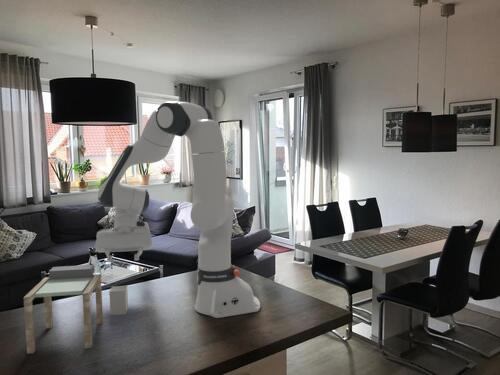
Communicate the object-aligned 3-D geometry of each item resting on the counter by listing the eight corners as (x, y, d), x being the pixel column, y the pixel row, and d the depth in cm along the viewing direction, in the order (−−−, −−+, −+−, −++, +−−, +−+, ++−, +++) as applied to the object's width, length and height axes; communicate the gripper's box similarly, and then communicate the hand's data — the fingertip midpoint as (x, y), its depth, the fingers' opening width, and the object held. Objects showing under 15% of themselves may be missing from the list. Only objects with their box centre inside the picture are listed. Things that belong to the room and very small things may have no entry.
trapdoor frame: (102, 322, 125) (100, 274, 124) (91, 348, 109) (88, 293, 107) (47, 326, 123) (44, 277, 121) (27, 353, 106) (23, 297, 105)
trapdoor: (94, 276, 125) (94, 264, 125) (82, 294, 109) (81, 281, 109) (53, 278, 123) (53, 267, 123) (35, 297, 107) (34, 284, 107)
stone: (128, 308, 136) (127, 285, 135) (126, 314, 131) (125, 290, 131) (113, 309, 135) (112, 286, 135) (110, 315, 130) (109, 291, 130)
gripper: (95, 224, 148) (91, 257, 140) (152, 222, 152) (150, 254, 143) (98, 234, 153) (94, 266, 145) (153, 231, 157) (152, 263, 148)
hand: (123, 260), depth 144 cm, fingers open, 8 cm apart
